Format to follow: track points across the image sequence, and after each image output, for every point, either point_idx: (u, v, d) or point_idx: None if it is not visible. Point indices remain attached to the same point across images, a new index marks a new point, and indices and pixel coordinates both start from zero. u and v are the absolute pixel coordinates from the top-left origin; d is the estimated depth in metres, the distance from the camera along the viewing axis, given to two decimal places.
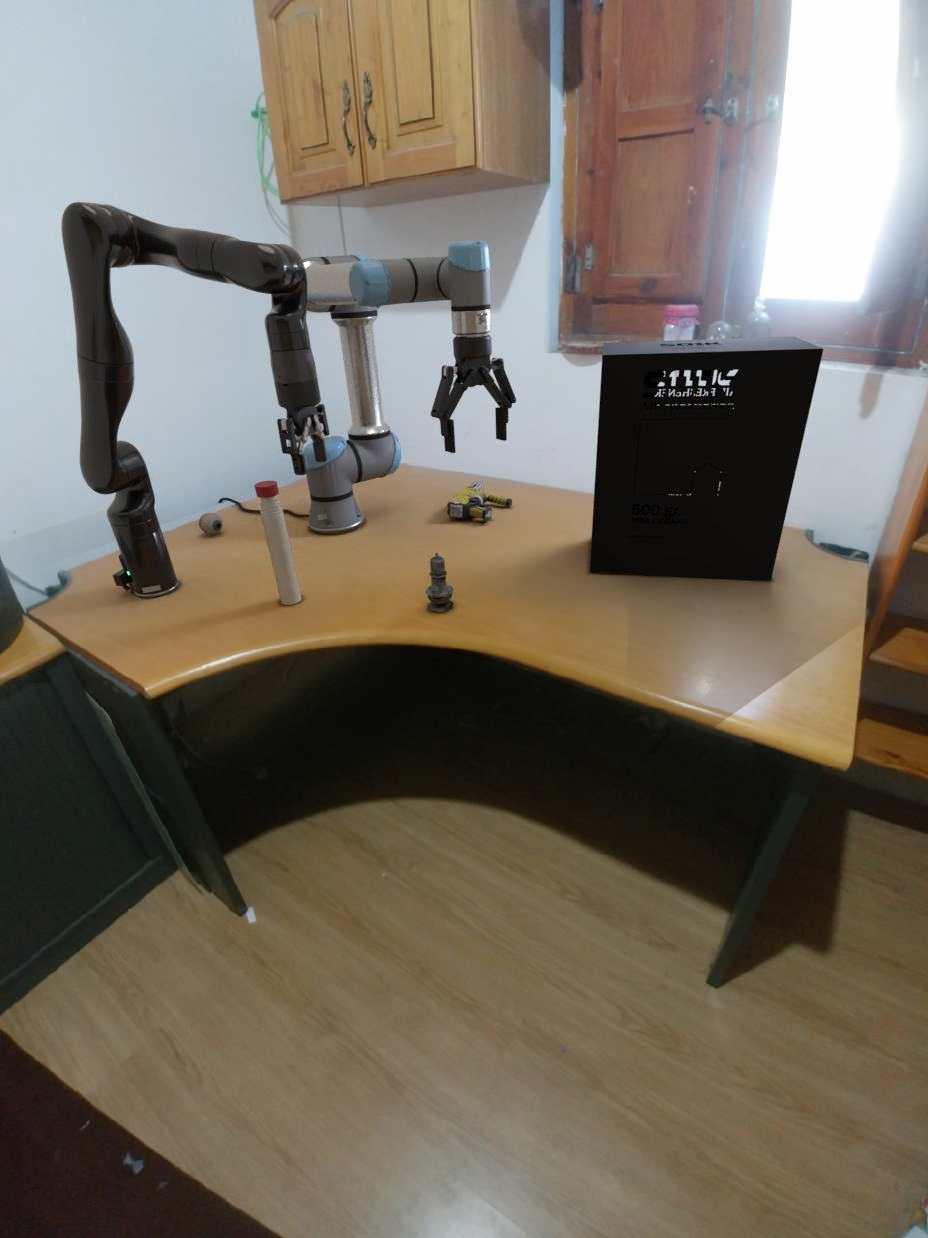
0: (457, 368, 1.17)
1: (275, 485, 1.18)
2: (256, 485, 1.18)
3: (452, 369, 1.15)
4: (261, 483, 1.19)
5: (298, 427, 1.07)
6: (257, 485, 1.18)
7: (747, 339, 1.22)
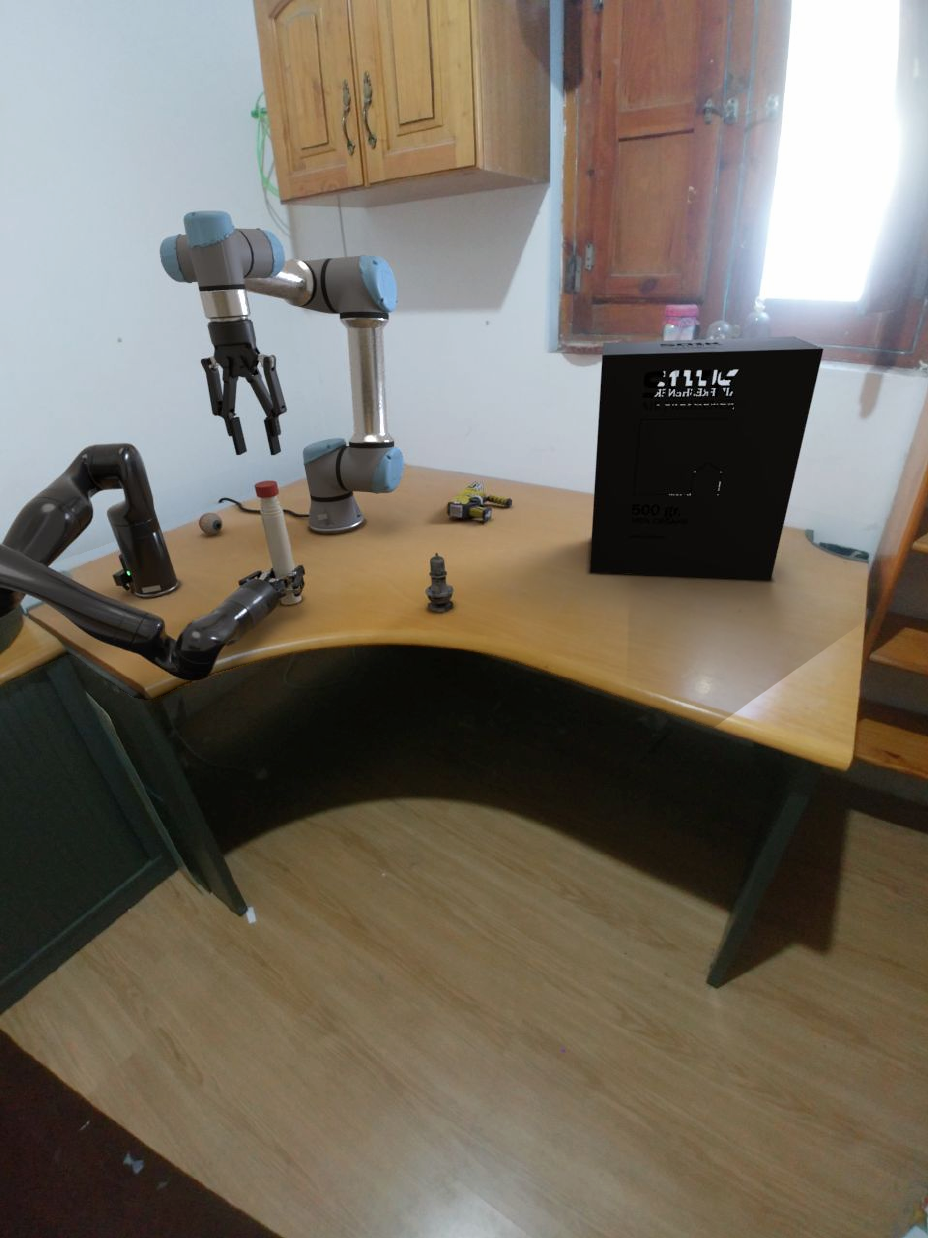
0: None
1: (275, 485, 1.18)
2: (256, 485, 1.18)
3: None
4: (261, 483, 1.19)
5: (284, 584, 1.22)
6: (257, 485, 1.18)
7: (747, 339, 1.22)
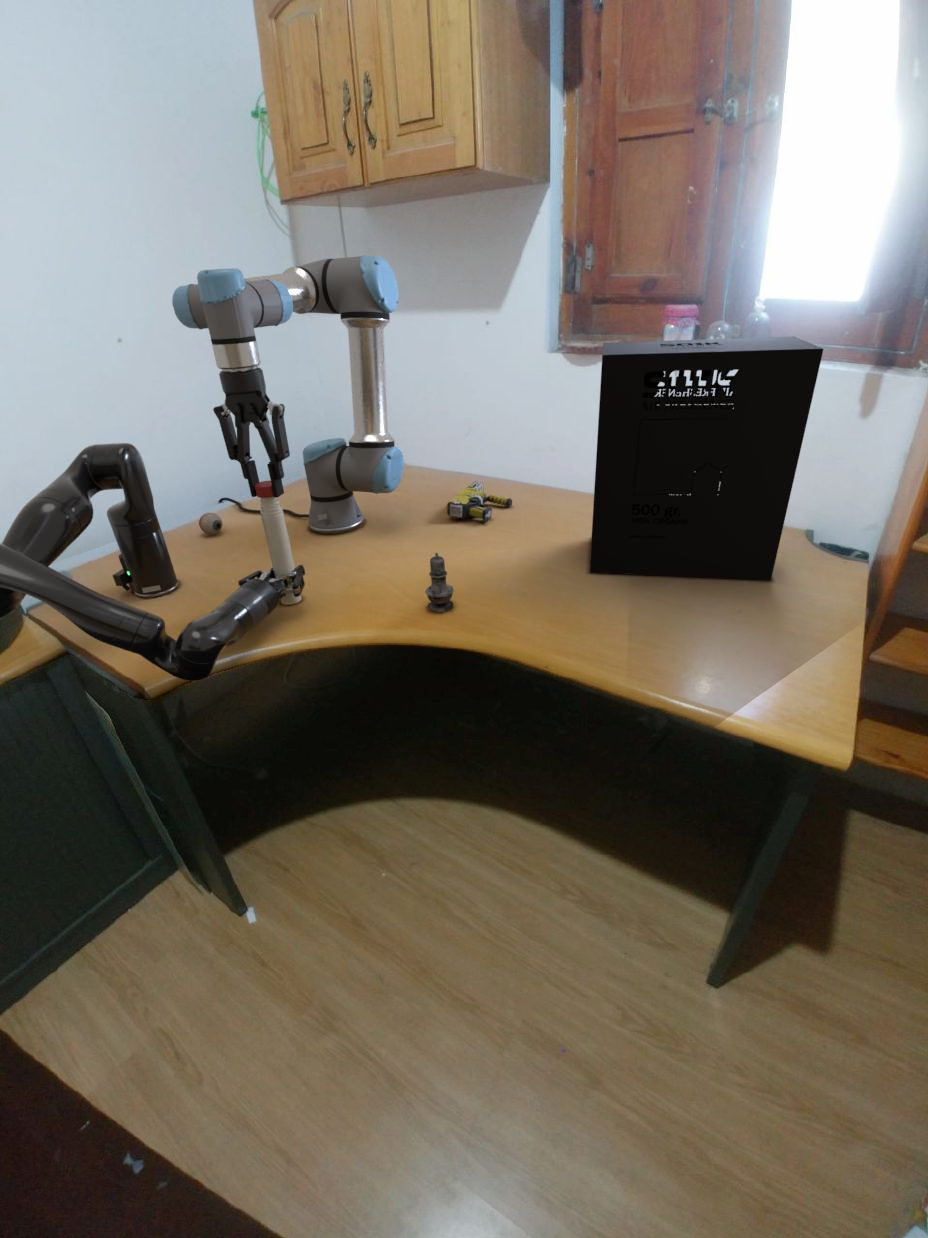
0: None
1: None
2: (256, 485, 1.18)
3: None
4: (261, 483, 1.19)
5: (284, 584, 1.22)
6: (257, 485, 1.18)
7: (747, 339, 1.22)
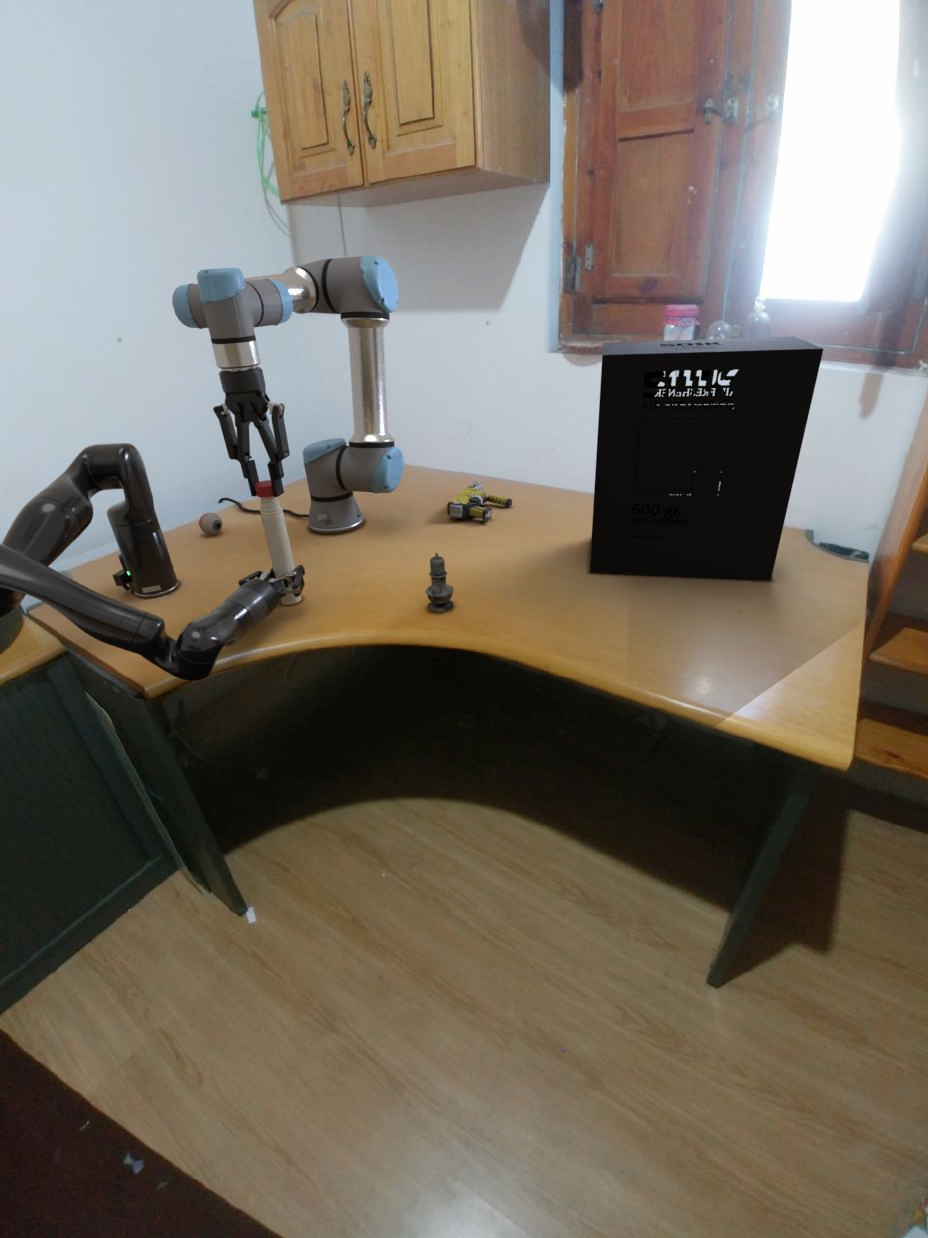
0: None
1: None
2: (265, 486, 1.17)
3: None
4: (261, 484, 1.17)
5: (284, 584, 1.22)
6: (266, 485, 1.17)
7: (747, 339, 1.22)
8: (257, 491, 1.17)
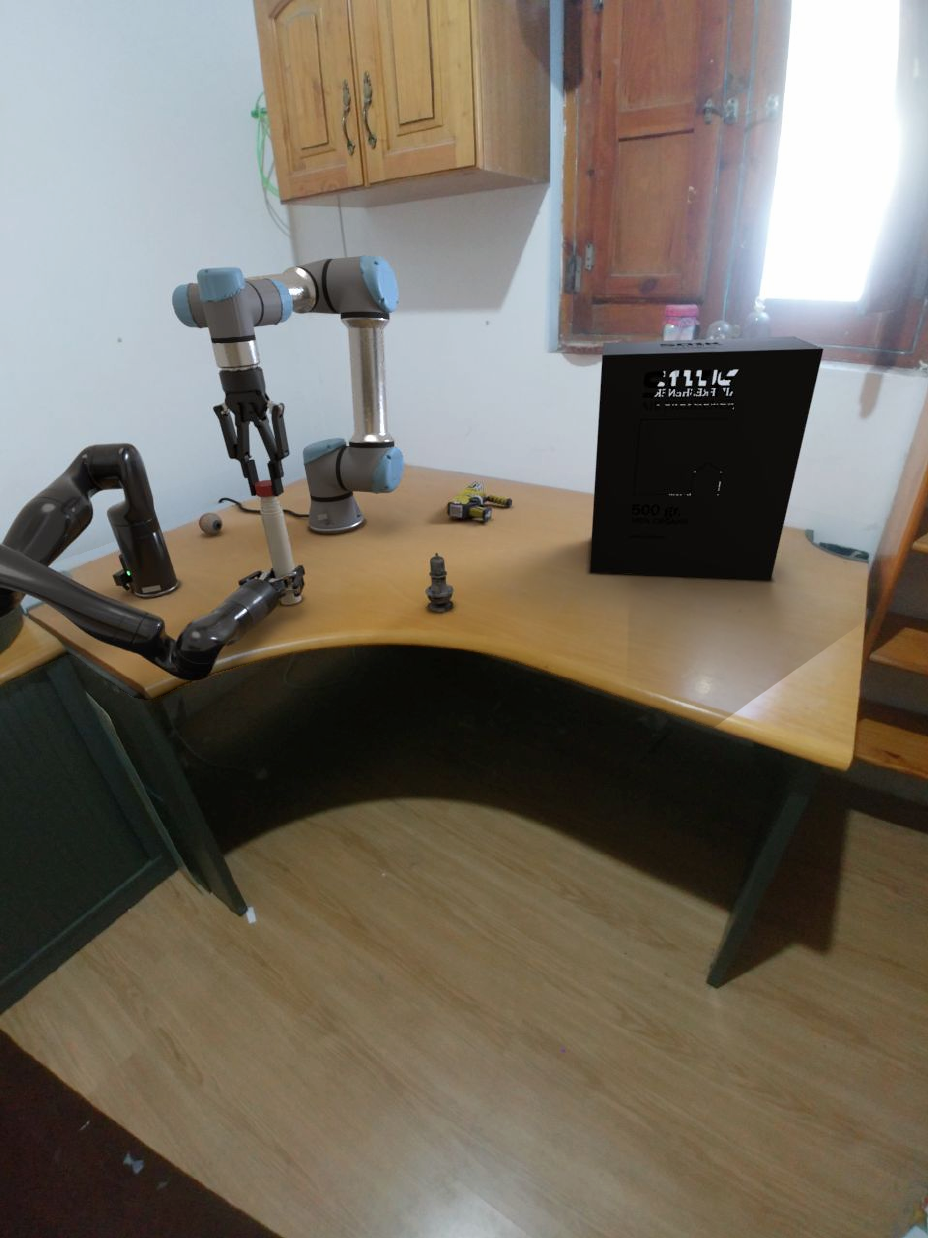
0: None
1: None
2: None
3: None
4: (268, 483, 1.18)
5: (284, 584, 1.22)
6: None
7: (747, 339, 1.22)
8: (271, 490, 1.17)
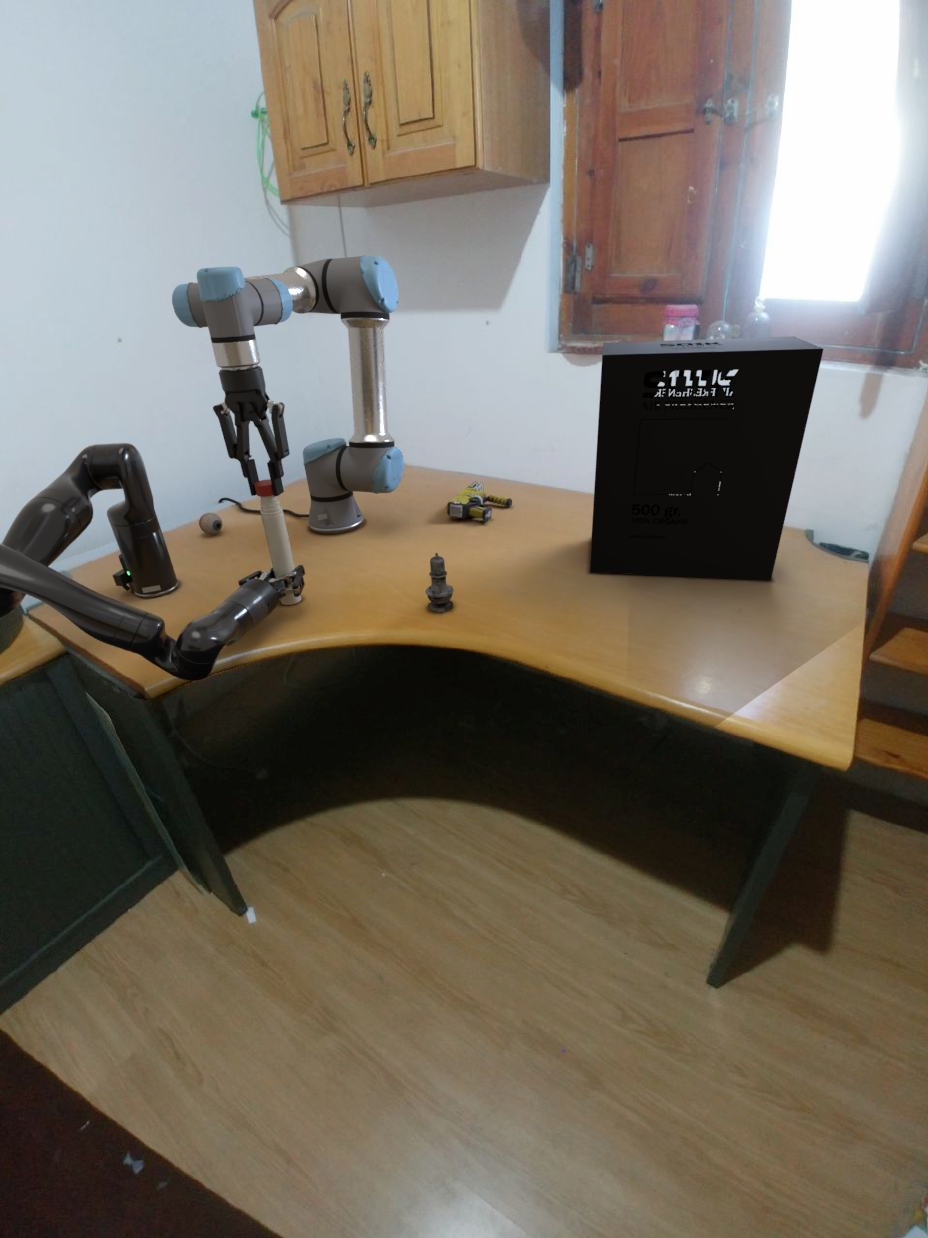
0: None
1: (255, 486, 1.17)
2: (268, 479, 1.20)
3: None
4: (270, 481, 1.19)
5: (284, 584, 1.22)
6: (267, 480, 1.20)
7: (747, 339, 1.22)
8: None
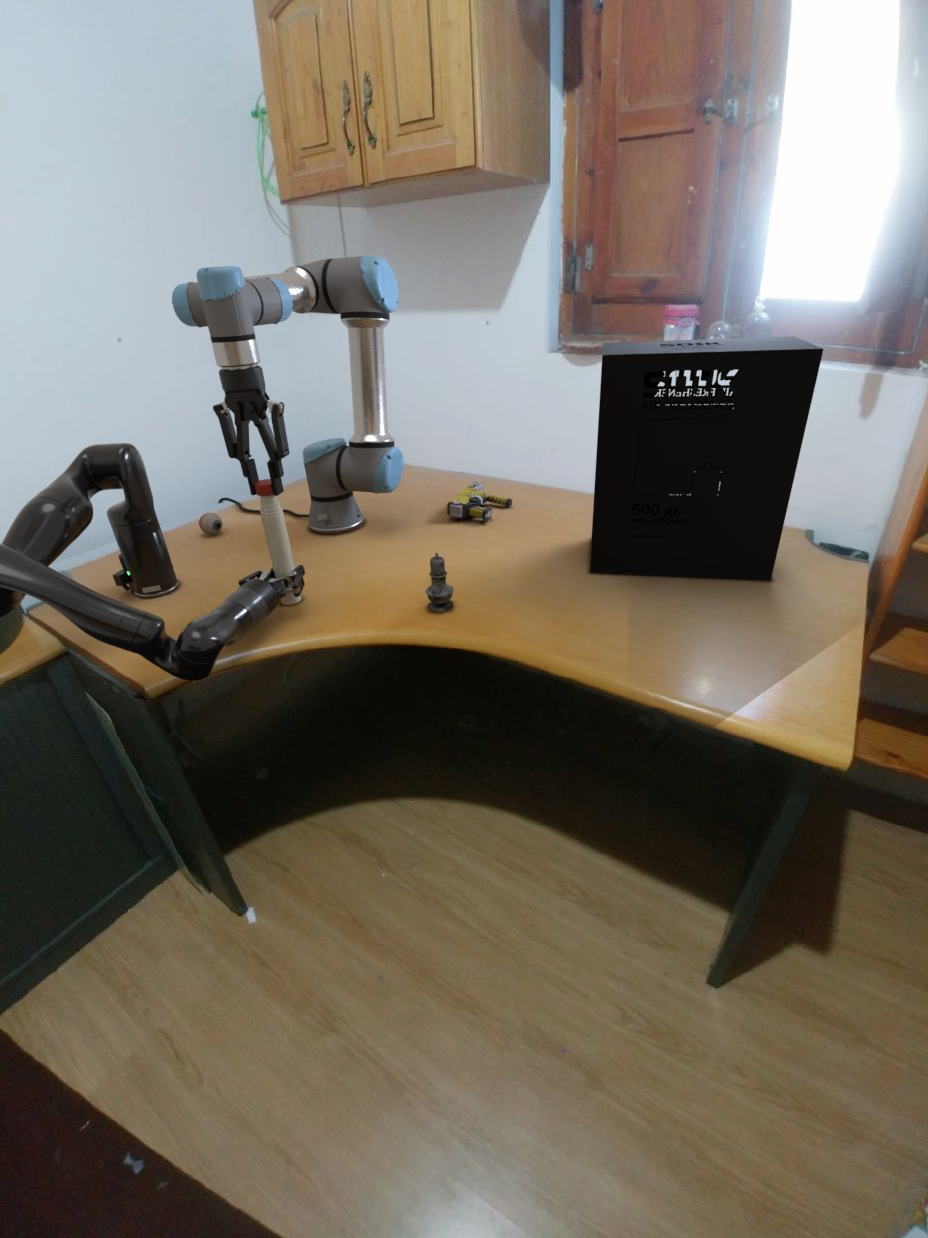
0: None
1: (269, 485, 1.17)
2: (257, 482, 1.18)
3: None
4: (264, 481, 1.19)
5: (284, 584, 1.22)
6: (257, 482, 1.18)
7: (747, 339, 1.22)
8: None
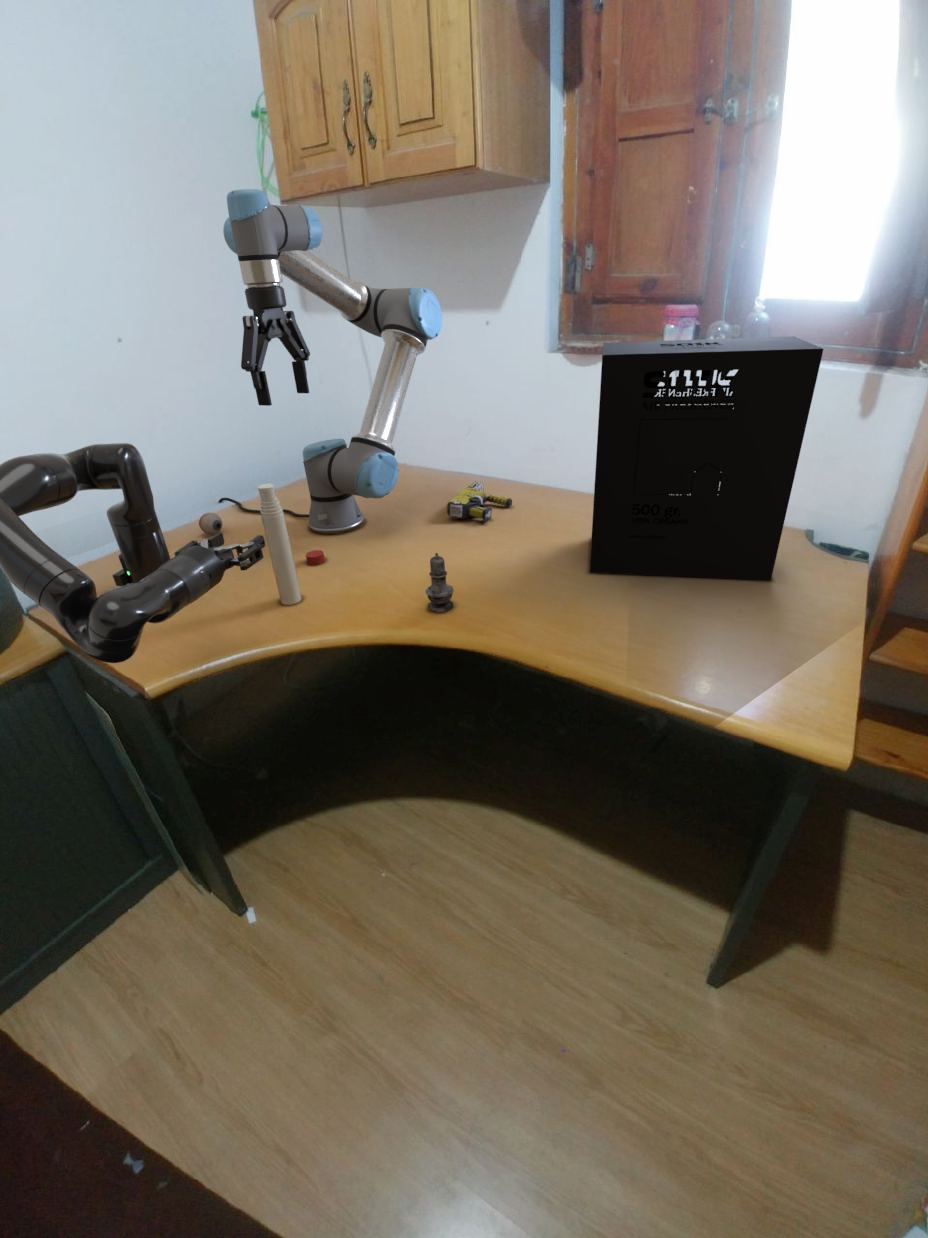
0: None
1: None
2: (310, 556, 1.46)
3: None
4: (310, 554, 1.47)
5: (232, 553, 1.04)
6: (311, 556, 1.46)
7: (747, 339, 1.22)
8: (306, 558, 1.48)
